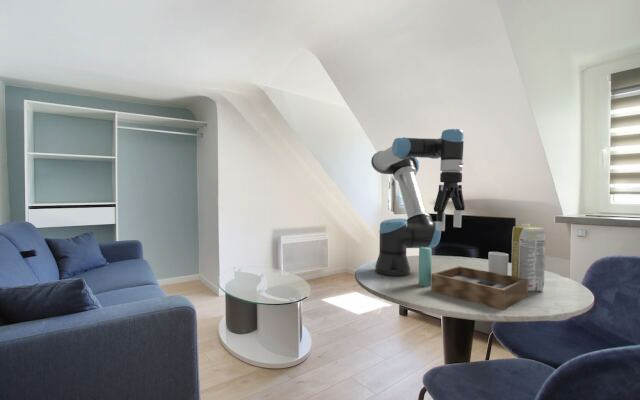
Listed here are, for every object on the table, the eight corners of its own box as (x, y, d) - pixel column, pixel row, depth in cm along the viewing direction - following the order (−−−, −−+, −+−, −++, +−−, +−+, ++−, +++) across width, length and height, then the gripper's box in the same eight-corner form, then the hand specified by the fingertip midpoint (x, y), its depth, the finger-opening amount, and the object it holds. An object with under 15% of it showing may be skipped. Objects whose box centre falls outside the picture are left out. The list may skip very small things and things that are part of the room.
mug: (510, 287, 118) (511, 255, 117) (491, 286, 119) (492, 254, 119) (500, 280, 128) (501, 250, 127) (482, 279, 129) (483, 250, 129)
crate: (431, 290, 113) (431, 273, 113) (459, 281, 126) (459, 266, 126) (503, 310, 95) (503, 290, 95) (527, 296, 107) (528, 279, 107)
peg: (416, 284, 121) (416, 248, 121) (423, 282, 124) (423, 246, 123) (426, 287, 117) (427, 249, 117) (433, 285, 120) (434, 248, 120)
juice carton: (532, 285, 121) (533, 222, 120) (547, 292, 113) (549, 225, 112) (508, 285, 121) (509, 222, 120) (521, 291, 113) (523, 224, 112)
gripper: (445, 170, 106) (443, 233, 107) (475, 172, 123) (473, 226, 124) (424, 170, 112) (422, 230, 113) (456, 173, 128) (454, 224, 130)
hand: (449, 228), depth 118 cm, fingers open, 13 cm apart
